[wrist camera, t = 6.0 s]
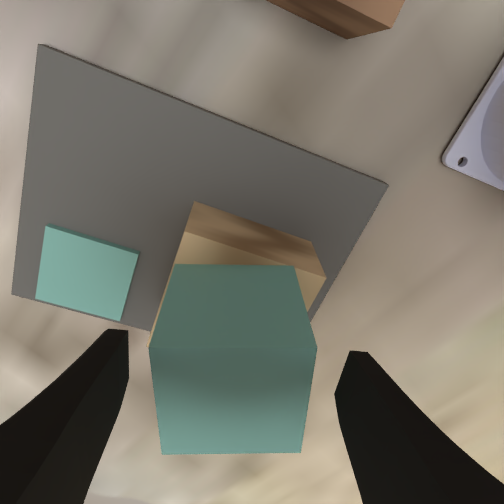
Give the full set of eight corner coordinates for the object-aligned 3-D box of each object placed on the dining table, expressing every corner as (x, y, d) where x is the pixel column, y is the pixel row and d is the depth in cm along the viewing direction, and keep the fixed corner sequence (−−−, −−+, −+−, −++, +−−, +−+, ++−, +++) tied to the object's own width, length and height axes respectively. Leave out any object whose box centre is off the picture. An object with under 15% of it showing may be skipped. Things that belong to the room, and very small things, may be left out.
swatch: (140, 251, 20) (138, 254, 20) (121, 317, 23) (119, 321, 22) (48, 223, 19) (45, 226, 19) (38, 294, 22) (35, 298, 21)
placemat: (384, 182, 20) (388, 185, 19) (283, 360, 26) (284, 367, 25) (44, 44, 16) (37, 44, 16) (16, 288, 22) (11, 294, 21)
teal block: (293, 265, 17) (317, 348, 12) (284, 354, 19) (300, 452, 14) (174, 263, 16) (148, 347, 12) (181, 354, 19) (161, 454, 14)
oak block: (311, 241, 21) (326, 277, 17) (265, 331, 24) (270, 378, 20) (194, 200, 19) (184, 231, 16) (160, 301, 22) (146, 346, 19)
